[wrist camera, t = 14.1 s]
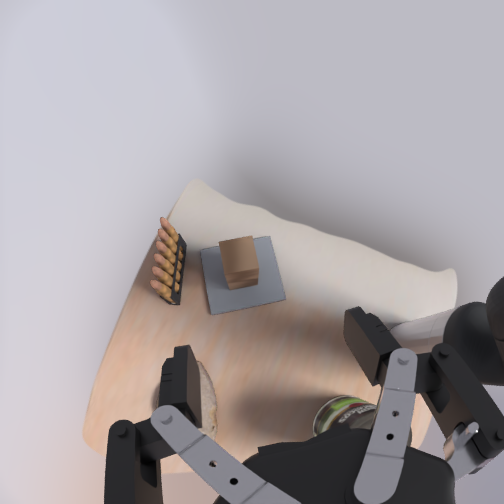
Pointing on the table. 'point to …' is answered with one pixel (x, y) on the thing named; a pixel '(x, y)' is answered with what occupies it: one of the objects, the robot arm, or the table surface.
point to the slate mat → (248, 296)
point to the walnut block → (240, 262)
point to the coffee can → (346, 415)
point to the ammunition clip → (169, 264)
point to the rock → (206, 404)
